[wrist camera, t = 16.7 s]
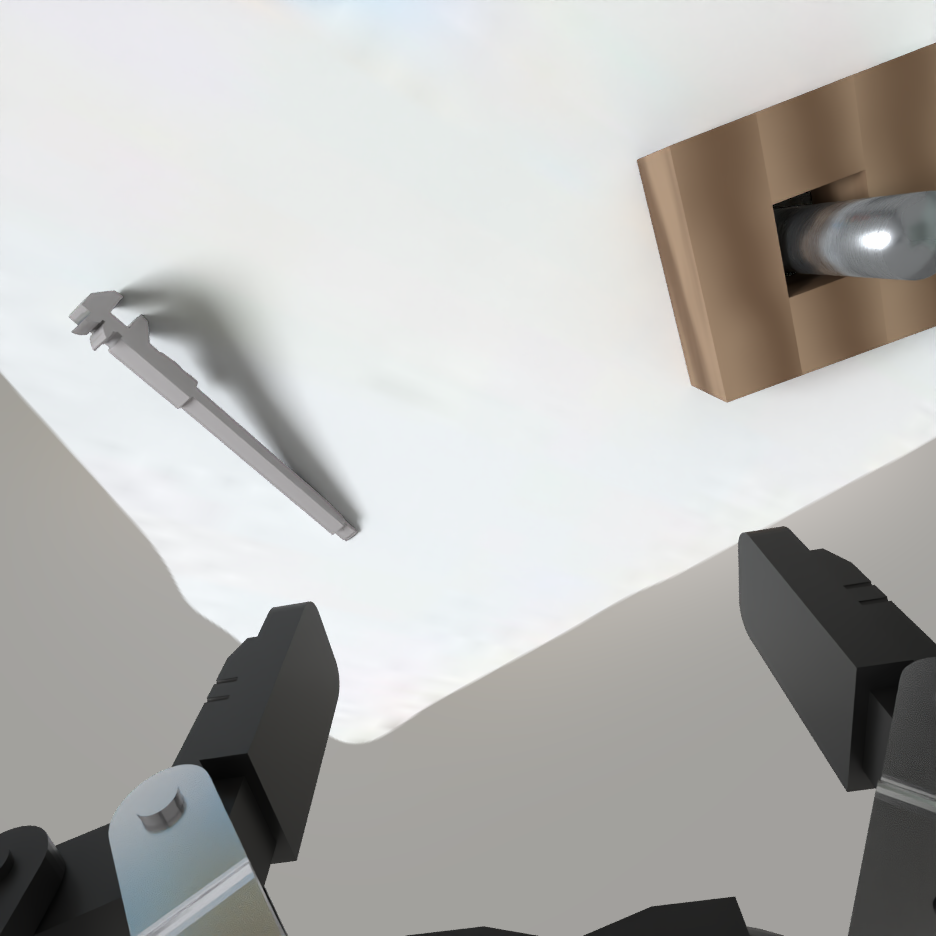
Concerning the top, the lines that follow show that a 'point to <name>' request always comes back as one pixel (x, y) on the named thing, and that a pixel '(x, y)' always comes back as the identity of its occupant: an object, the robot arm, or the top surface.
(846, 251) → the steel peg
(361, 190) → the top surface
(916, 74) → the socket block
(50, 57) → the top surface
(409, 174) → the top surface
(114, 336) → the caliper
